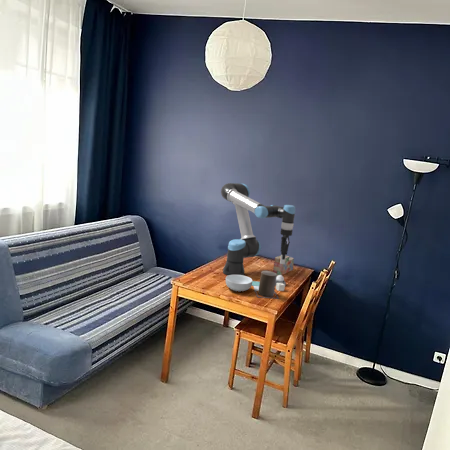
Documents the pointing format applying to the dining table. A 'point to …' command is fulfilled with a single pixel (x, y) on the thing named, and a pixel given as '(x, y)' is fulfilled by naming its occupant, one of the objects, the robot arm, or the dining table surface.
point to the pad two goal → (255, 283)
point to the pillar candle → (267, 283)
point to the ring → (266, 297)
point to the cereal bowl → (238, 282)
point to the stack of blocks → (283, 265)
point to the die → (280, 286)
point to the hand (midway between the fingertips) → (282, 263)
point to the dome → (279, 278)
